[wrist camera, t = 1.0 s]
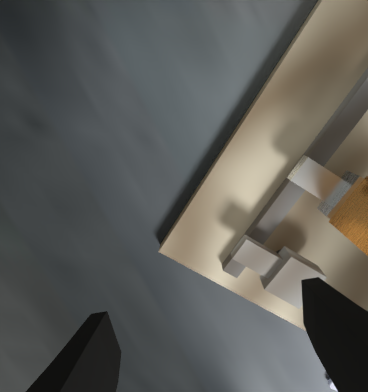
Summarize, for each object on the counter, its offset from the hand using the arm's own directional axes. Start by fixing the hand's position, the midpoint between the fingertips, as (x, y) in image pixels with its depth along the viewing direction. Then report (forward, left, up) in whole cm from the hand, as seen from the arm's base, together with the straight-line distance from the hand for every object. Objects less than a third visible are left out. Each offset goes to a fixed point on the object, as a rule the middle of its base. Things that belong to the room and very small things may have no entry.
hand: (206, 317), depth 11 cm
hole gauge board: (-7, -7, -11) cm, 15 cm away
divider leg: (-6, -6, -10) cm, 13 cm away
